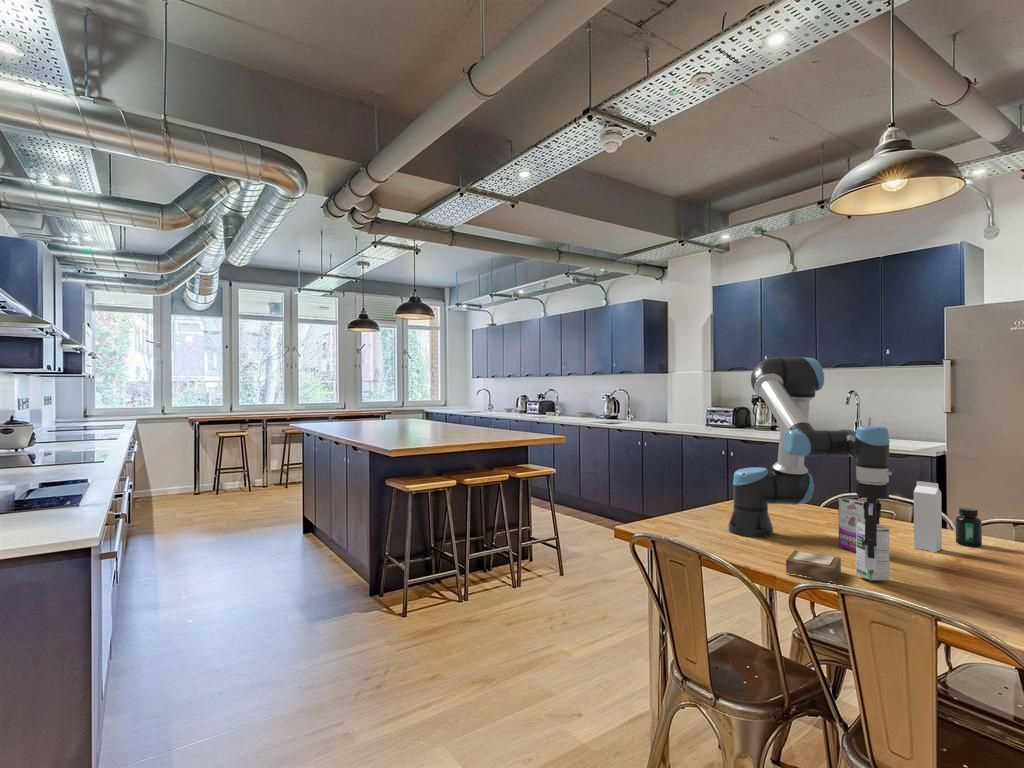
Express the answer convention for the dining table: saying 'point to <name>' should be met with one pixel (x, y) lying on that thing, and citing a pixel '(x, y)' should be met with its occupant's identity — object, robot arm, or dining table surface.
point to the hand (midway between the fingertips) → (872, 565)
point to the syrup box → (882, 553)
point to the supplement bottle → (968, 528)
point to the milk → (927, 517)
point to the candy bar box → (849, 521)
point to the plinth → (814, 566)
